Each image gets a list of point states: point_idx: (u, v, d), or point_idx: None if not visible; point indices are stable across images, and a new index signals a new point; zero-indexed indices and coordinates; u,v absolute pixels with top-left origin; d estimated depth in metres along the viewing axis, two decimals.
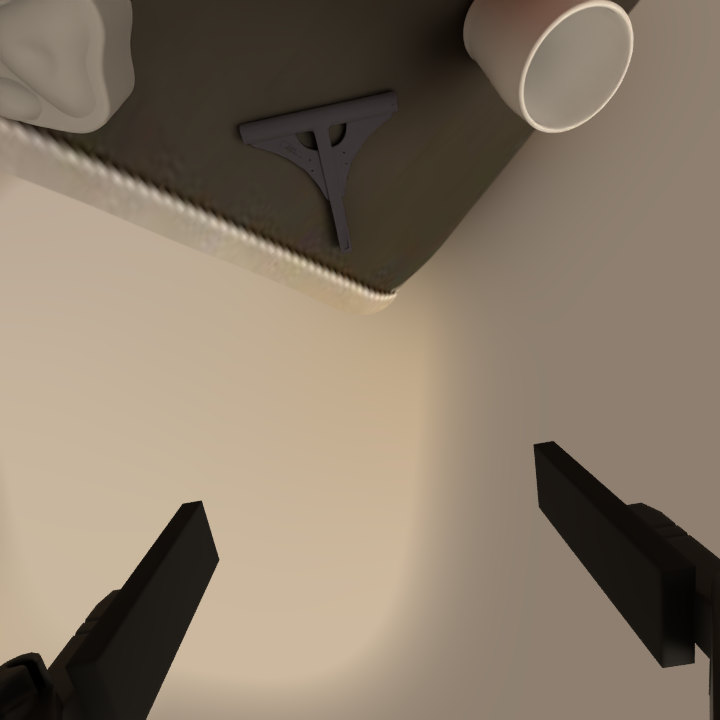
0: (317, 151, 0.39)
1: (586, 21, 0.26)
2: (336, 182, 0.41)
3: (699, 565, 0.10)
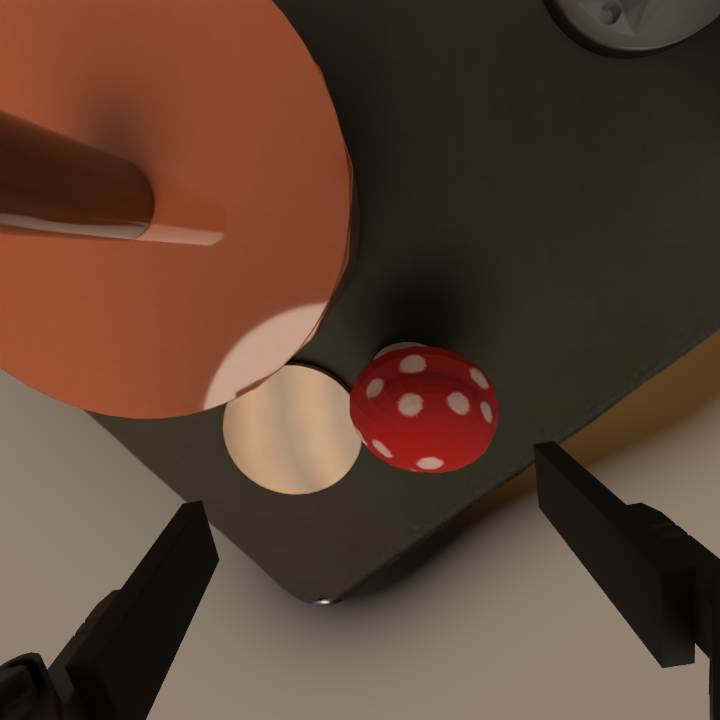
0: None
1: None
2: None
3: (699, 565, 0.10)
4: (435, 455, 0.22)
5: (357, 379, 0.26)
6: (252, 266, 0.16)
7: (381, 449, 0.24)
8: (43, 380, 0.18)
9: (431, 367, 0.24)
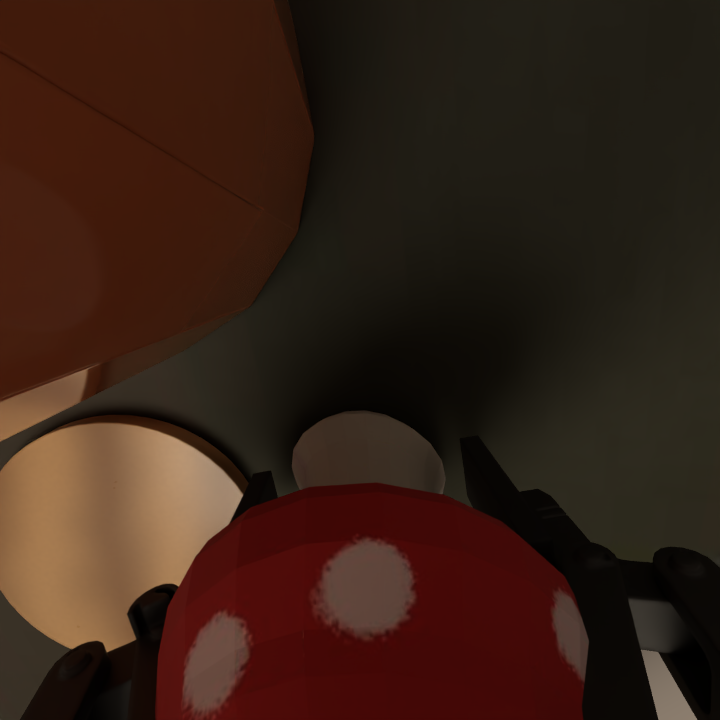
0: None
1: None
2: None
3: (564, 539, 0.11)
4: None
5: (192, 569, 0.08)
6: None
7: None
8: None
9: (431, 608, 0.07)
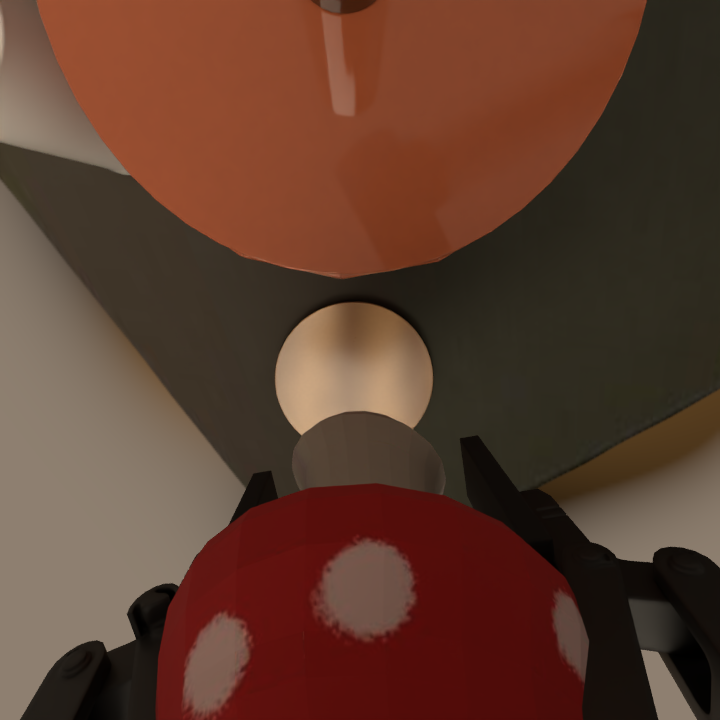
0: None
1: None
2: None
3: (564, 539, 0.11)
4: None
5: (192, 570, 0.08)
6: (497, 82, 0.13)
7: None
8: (179, 194, 0.13)
9: (431, 609, 0.07)
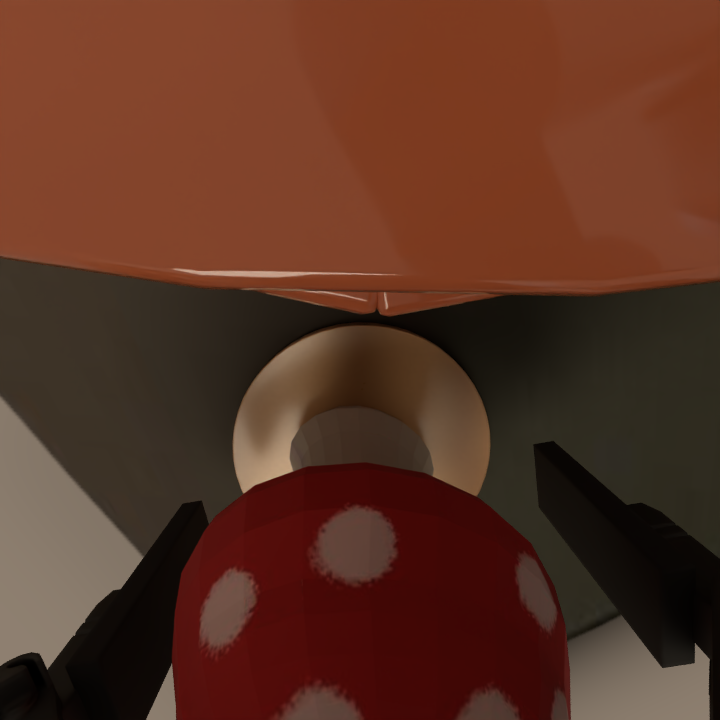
0: None
1: None
2: None
3: (699, 565, 0.10)
4: None
5: (203, 537, 0.09)
6: None
7: None
8: None
9: (410, 562, 0.08)
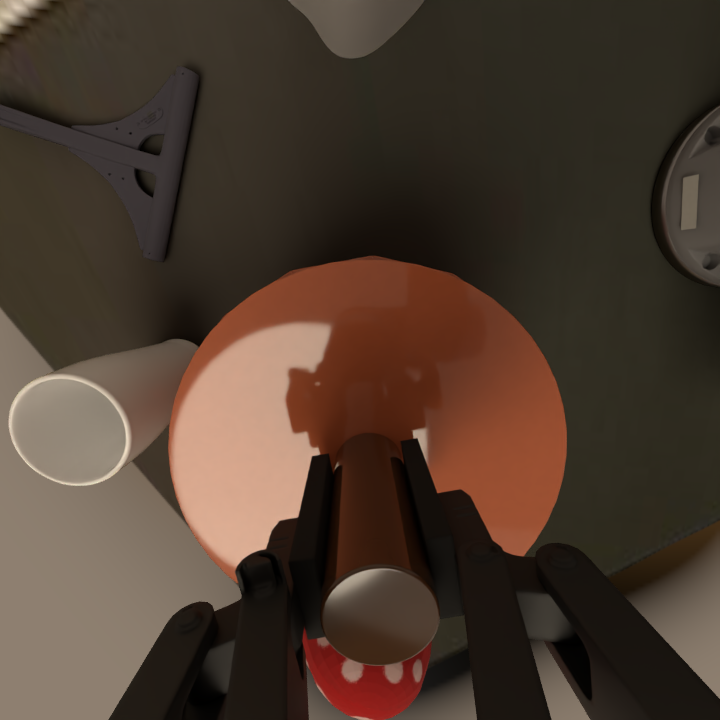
0: (136, 148, 0.32)
1: None
2: (90, 149, 0.31)
3: (470, 537, 0.12)
4: (367, 716, 0.26)
5: None
6: None
7: (322, 693, 0.27)
8: None
9: None
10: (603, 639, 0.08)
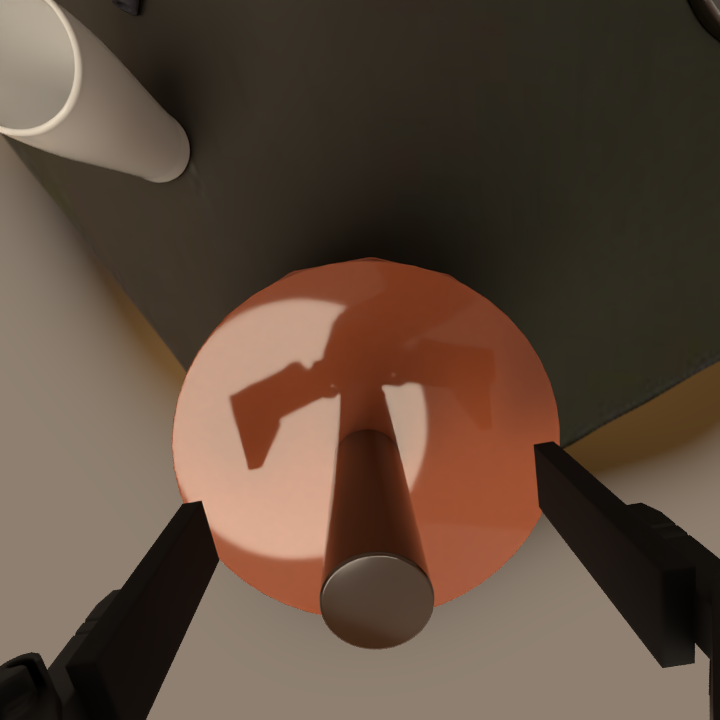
0: None
1: None
2: None
3: (699, 565, 0.10)
4: None
5: None
6: (463, 521, 0.20)
7: None
8: (260, 579, 0.21)
9: None
10: None
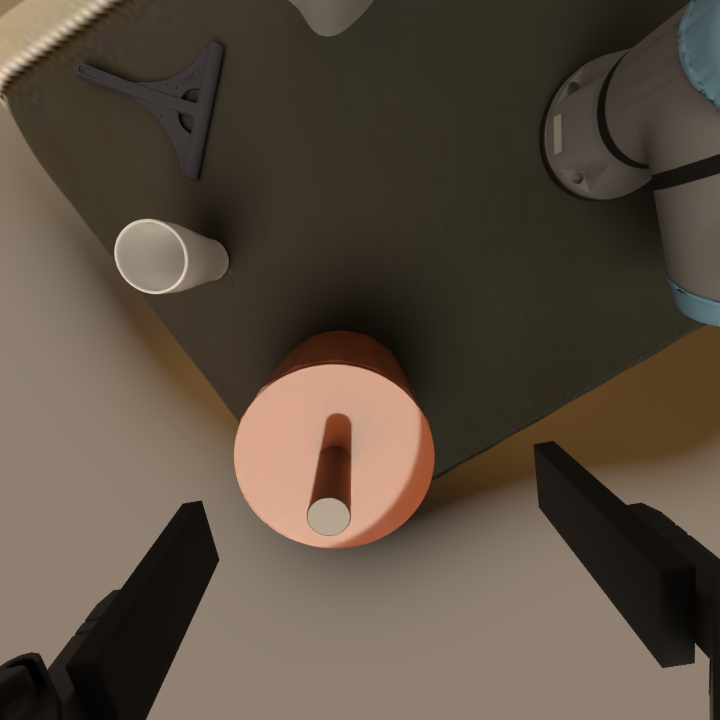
0: (180, 98, 0.46)
1: None
2: (148, 98, 0.46)
3: (699, 565, 0.10)
4: None
5: None
6: (385, 494, 0.38)
7: None
8: (278, 525, 0.39)
9: None
10: None
